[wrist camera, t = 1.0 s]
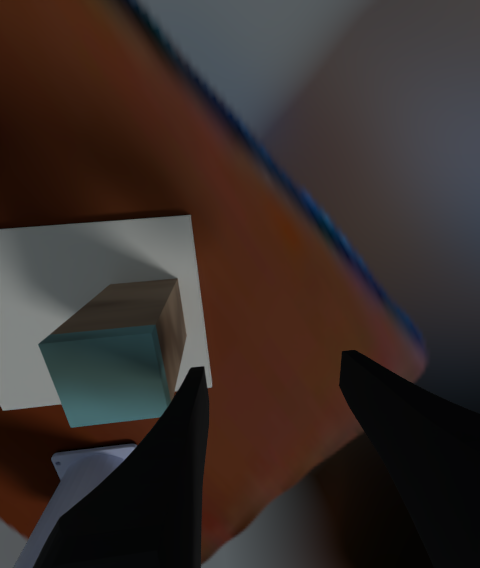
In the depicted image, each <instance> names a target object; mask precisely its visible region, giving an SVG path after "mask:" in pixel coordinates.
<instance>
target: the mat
mask: <svg viewBox="0 0 480 568" xmlns="http://www.w3.org/2000/svg"><path fill="white" fill-rule="evenodd" d="M176 278H178V283H179V290H180V296H181V302H182V309H183V315H184V321H185V328H186V334H187V337H186V342H185V346H184V351H183V355H182V360H181V364H180V369H179V373H178V378H177V382H176V387H175V391H178V390H179V388H180V386H181V384H182V383H183V381H184V379H185V377H186V375H187V373H188V371H189V369H190V368H191V367H200V366H204V367H205V374H206V382H207V388H210V387H212V378H211V370H210V362H209V354H208V347H207V339H206V331H205V323H204V315H203V308H202V300H201V292H200V284H199V277H198V269H197V261H196V253H195V245H194V238H193V230H192V222H191V215H182V216H168V217H155V218H142V219H128V220H115V221H101V222H88V223H74V224H61V225H47V226H34V227H20V228H7V229H0V406H1V408H2V410H3V411H4V410H13V409H22V408H31V407H40V406H49V405H58V404H61V401H60V399H59V396H58V394H57V391H56V389H55V386H54V383H53V381H52V378H51V376H50V373H49V371H48V368H47V366H46V363H45V361H44V358H43V356H42V353H41V350H40V348H39V345H38V344H39V343H40V342H41V341H42V340H44V339H45V338H46V337H47V336H48V335H50V334H51V333H52V332H53V331H54V330H56V329H57V328H58V327H59V326H60V325H62V324H63V323H64V322H65V321H67V320H68V319H69V318H70V317H71V316H73V315H74V314H75V313H76V312H77V311H79V310H80V309H81V308H82V307H83V306H85V305H86V304H87V303H88V302H89V301H91V300H92V299H93V298H94V297H95V296H97V295H98V294H99V293H100V292H101V291H103V290H104V289H105V288H106V287H107V286H109V285H110V284H119V283H130V282H142V281H153V280H165V279H176Z"/></svg>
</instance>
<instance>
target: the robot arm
mask: <svg viewBox="0 0 480 568" xmlns="http://www.w3.org/2000/svg"><path fill="white" fill-rule="evenodd" d="M339 386H340V388H341V391H342V393H343V395H344V397H345V399H346V401H347V403H348V405H349V407H350V409H351V411H352V412H353V414H354V415H355V417H356V419H357V420H358V422H359V423H360V425H361V427H362V428H363V430H364V431H365V433H366V435H367V436H368V438H369V439H370V441H371V442H372V444H373V445H374V447H375V449H376V450H377V452H378V454H379V455H380V457H381V459H382V460H383V462H384V464H385V466H386V467H387V470H388V471H389V473H390V475H391V477H392V479H393V481H394V483H395V485H396V487H397V489H398V491H399V493H400V495H401V497H402V499H403V501H404V503H405V505H406V507H407V509H408V511H409V514H410V516H411V518H412V520H413V522H414V524H415V526H416V529H417V531H418V533H419V535H420V537H421V539H422V542H423V544H424V546H425V548H426V550H427V552H428V554H429V557H430V559H431V561H432V564H433V566H434V568H480V414H479V413H476V412H474V411H471V410H468V409H466V408H464V407H461V406H459V405H457V404H454V403H452V402H450V401H448V400H446V399H443V398H441V397H439V396H437V395H434V394H433V393H430V392H428V391H426V390H424V389H422V388H421V387H419V386H417V385H415V384H413V383H411V382H409V381H407V380H406V379H404V378H402V377H400V376H398V375H397V374H395V373H393V372H391V371H390V370H388V369H386V368H385V367H383V366H381V365H380V364H378V363H376V362H375V361H373V360H371V359H370V358H368V357H366V356H365V355H363V354H361V353H359V352H358V351H356V350H349V351H342V359H341V371H340V383H339ZM208 428H209V396H208V389H207V382H206V374H205V367H204V366H200V367H191V368H190V369H189V371H188V373H187V375H186V377H185V379H184V381H183V383H182V384H181V386H180V388H179V390H178V391H177V393H176V395H175V396H174V398H173V399H172V401H171V403H170V404H169V406H168V407H167V408H166V410H165V411H164V413H163V414H162V416H161V417H160V419H159V420H158V421H157V423H156V424H155V425H154V427H153V428H152V429H151V430H150V432H149V433H148V434H147V435H146V436H145V438H144V439H143V440H142V441H141V442H140V443H139V445H138V446H137V445H136V444H123V445H115V446H107V447H99V448H91V449H82V450H74V451H66V452H58V453H55V454H54V455H53V456H52V458H51V460H52V463H53V465H54V467H55V469H56V471H57V474H58V476H59V478H60V480H61V481H60V483H59V485H58V487H57V488H56V490H55V492H54V494H53V496H52V498H51V499H50V501H49V503H48V505H47V507H46V509H45V510H44V512H43V514H42V516H41V518H40V519H39V521H38V523H37V525H36V527H35V529H34V530H33V532H32V534H31V536H30V538H29V539H28V541H27V543H26V545H25V547H24V549H23V551H22V552H21V554H20V556H19V558H18V560H17V561H16V563H15V565H14V567H13V568H201V519H202V486H203V474H204V464H205V455H206V446H207V437H208Z"/></svg>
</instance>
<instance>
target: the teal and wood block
mask: <svg viewBox="0 0 480 568" xmlns="http://www.w3.org/2000/svg"><path fill="white" fill-rule="evenodd" d="M186 337H187V334H186V328H185V321H184V315H183V309H182V302H181V296H180V290H179V283H178V278H176V279H165V280H153V281H142V282H130V283H119V284H110V285H109V286H107V287H106V288H105V289H104V290H103V291H101V292H100V293H99V294H98V295H97V296H95V297H94V298H93V299H92V300H91V301H89V302H88V303H87V304H86V305H85V306H83V307H82V308H81V309H80V310H79V311H77V312H76V313H75V314H74V315H73V316H71V317H70V318H69V319H68V320H67V321H65V322H64V323H63V324H62V325H60V326H59V327H58V328H57V329H56V330H54V331H53V332H52V333H51V334H50V335H48V336H47V337H46V338H45V339H44V340H42V341H41V342H40V343H39V344H38V345H39V348H40V350H41V353H42V356H43V358H44V361H45V363H46V366H47V368H48V371H49V373H50V376H51V378H52V381H53V383H54V386H55V389H56V391H57V394H58V396H59V399H60V401H61V404H62V406H63V409H64V411H65V414H66V417H67V419H68V422H69V424H70V427H71V428H72V427H80V426H89V425H97V424H106V423H114V422H123V421H131V420H140V419H148V418H157V417H161V416H162V414H163V413H164V411H165V410H166V408H167V407H168V406H169V404H170V403H171V401H172V399H173V396H174V392H175V387H176V382H177V378H178V373H179V369H180V364H181V360H182V355H183V351H184V346H185V342H186Z"/></svg>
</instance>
